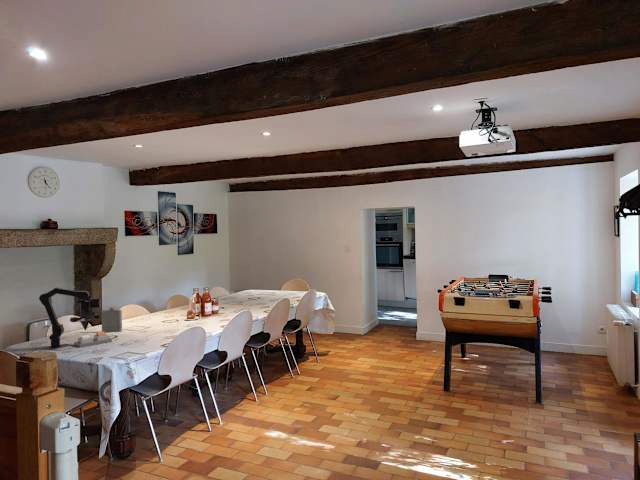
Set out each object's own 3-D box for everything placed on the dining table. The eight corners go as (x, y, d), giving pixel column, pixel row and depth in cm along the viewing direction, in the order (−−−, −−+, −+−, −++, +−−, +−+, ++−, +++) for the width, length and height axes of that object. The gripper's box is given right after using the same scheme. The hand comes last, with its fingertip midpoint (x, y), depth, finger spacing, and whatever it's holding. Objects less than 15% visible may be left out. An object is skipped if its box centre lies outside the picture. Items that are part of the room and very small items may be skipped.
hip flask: (101, 332, 365) (100, 307, 365) (103, 331, 369) (102, 307, 369) (121, 331, 366) (120, 307, 366) (123, 330, 370) (122, 306, 370)
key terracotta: (96, 336, 332) (96, 332, 332) (103, 335, 336) (103, 331, 336) (98, 337, 329) (98, 333, 329) (105, 336, 332) (105, 332, 332)
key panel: (74, 344, 324) (74, 337, 324) (105, 339, 340) (105, 332, 340) (80, 347, 316) (80, 340, 316) (112, 341, 332) (111, 335, 332)
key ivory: (80, 340, 324) (80, 336, 324) (87, 339, 328) (87, 335, 328) (82, 341, 321) (82, 337, 321) (90, 340, 324) (90, 336, 324)
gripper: (75, 311, 311) (75, 333, 312) (102, 307, 325) (103, 329, 325) (69, 309, 319) (69, 331, 319) (96, 306, 333) (97, 327, 333)
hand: (85, 329), depth 324 cm, fingers closed
